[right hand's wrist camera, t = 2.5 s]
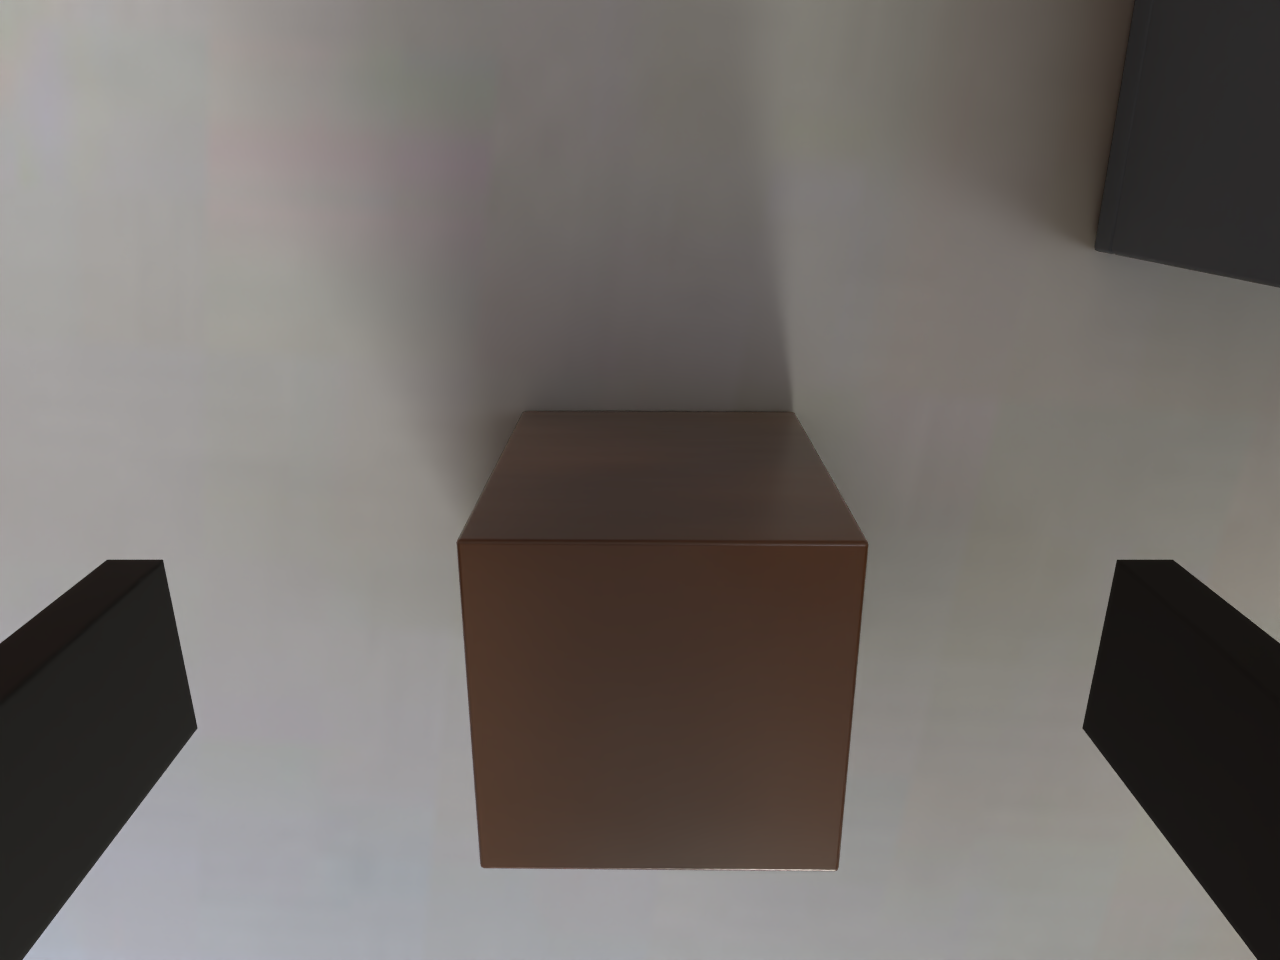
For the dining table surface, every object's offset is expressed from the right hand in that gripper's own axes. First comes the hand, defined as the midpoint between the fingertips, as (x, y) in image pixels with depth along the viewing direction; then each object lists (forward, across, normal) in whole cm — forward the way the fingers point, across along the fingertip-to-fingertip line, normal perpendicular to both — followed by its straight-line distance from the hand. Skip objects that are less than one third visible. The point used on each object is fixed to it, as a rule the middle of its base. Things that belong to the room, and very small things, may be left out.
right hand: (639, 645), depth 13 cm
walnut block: (+5, 0, 0) cm, 5 cm away
